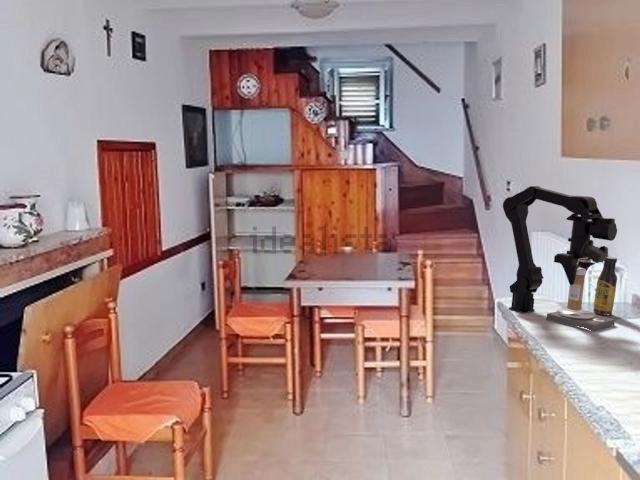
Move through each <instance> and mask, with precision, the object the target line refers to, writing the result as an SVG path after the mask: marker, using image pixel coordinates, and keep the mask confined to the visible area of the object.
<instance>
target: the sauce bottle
mask: <svg viewBox="0 0 640 480" xmlns="http://www.w3.org/2000/svg"><path fill="white" fill-rule="evenodd" d="M617 262H618V258H617V257H614V256H608V257H606V258H605V259H604V261H603V268H602V270H601V272H600V274H599V276H598V277H597V278H598V279H597V281H596V288H595V293H594V301H593V309H592V311H593V312H592V313H594V314H595V315H600V314H603V315H602V316H608V315H607V314H611V315H612V314H613V309H614V304H615V297H616V289H617V282H618V277H617V274H616V265H617ZM604 314H606V315H604Z"/></svg>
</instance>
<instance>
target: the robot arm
mask: <svg viewBox="0 0 640 480" xmlns="http://www.w3.org/2000/svg"><path fill="white" fill-rule="evenodd" d="M537 200H538V201H541V202H546V203H550V204H552V205H557V206H559V207H563V208H565V209H566V210H567V211H569V212H570V213H571V215H569V216H568V217H567V218H566V221H572V226H571V227H572V228H571V234H570V235H571V237H568V238H567V242H568V243H569V242H570V244H569V250H566V253H565V252H562V253H561V252H560V253H556V254H555V255H554V257H553V259H554V260H553V262H554V263H556V264H557V263H558V264H560V265H561V266H562V268H563V270H564V273H565V276H566V278H567V281H568V284H569V286H570V285H573V284H574V280H575V276H576V271H577V269H578V268H584V269H586V272H587V271H588V269H589V268H591V266H594V265H595V264H600V263H604V259H605V258H606V257H609V248H608V247H607V246H605V245H602V246H600V247H599V246H595V245H594V240H593V239H599V240H604V241H608V242H609V241H611V242H612V241H614V240H615V238H616V236H617V234H618V227H617V224H616V222H615V221H616V219H615V218H613V217H612V218H608V217H607V218H606V217H603V215H602V213H601V211H600V209H599V207H598V203H597V200H596V199H595V197H592V196H588V195H586V196H585V195H572V194H571V195H570V194H566V193H563V192H562V193H561V192H558V191H555V190H551V189H547V188H543V187H541V186H539V185H530V186H528V187H527V188H525V189H523V190H522V191H520V192H518V193H516V194H514V195H512V196H508V197H506V198H505V199H504V201H503V202H502V209H503V212H504V214H505V217H506V218H507V220H508V221H509V222H510V225H511V228H512V229H511V230H512V235H513V241H514V246H515V249H516V257H517V260H518V261H517V262H518V266H517V270H516V280H515V281H514V282H513V283H512V284H510V285H509V292H510V293H511V294H512V298H511V306H510V307H508V310H511V311H515V312H520V313H523V314H526V313H530V312H534V311H535V310H536V309H535V308H534V305H535V298H534V296H535V295H534V293H537V291H538V289H539V288H540V287H541V286H542V284H543V279H544V278H545V277H544V275H543V274H542V273H543V272H542V267H541V266H537V265H536V264H535V262H534V258H533V253H532V247H531V242H530V235H529V231H528V227H527V219H528V214H529V207H530V206H531V205H533V204H534V203H535V202H536V201H537ZM591 237H592V238H593V239H591Z"/></svg>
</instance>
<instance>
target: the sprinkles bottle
mask: <svg viewBox="0 0 640 480" xmlns="http://www.w3.org/2000/svg"><path fill="white" fill-rule="evenodd" d="M586 274H587V271H586V269H584V268H578V269H577V271H576V276H575V280H574V284H573V285H570V284H569V286H568V295H567V305H566V308H568V309H570V310H581V309H582V310H583V308H582V307H583V306H582V304H583V298H584V287H585V277H586Z"/></svg>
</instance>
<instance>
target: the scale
mask: <svg viewBox="0 0 640 480" xmlns="http://www.w3.org/2000/svg"><path fill="white" fill-rule="evenodd" d="M545 320H547V321H550V322H554V323H557V322H558V323H557V324H561V323H563V324H562V325H565V324H568V325H567V326H569V325H573V326H579V327H584V328H587V329H589V330H591V331H590V332H592V331H593V332H596V331H600V330H602V329H607V328H609V327H610V328H611V327H613V326H612V325H614V326H615V322H616V319H615V318H611V317H606V316H604V315H599V314H594V319H591V320H578V319H571V318H566V317H562V316H560V315H558V314H557V311H554V312H553V311H552V312H548V313H546V319H545ZM573 326H572V327H573ZM589 330H588V331H589Z"/></svg>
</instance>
